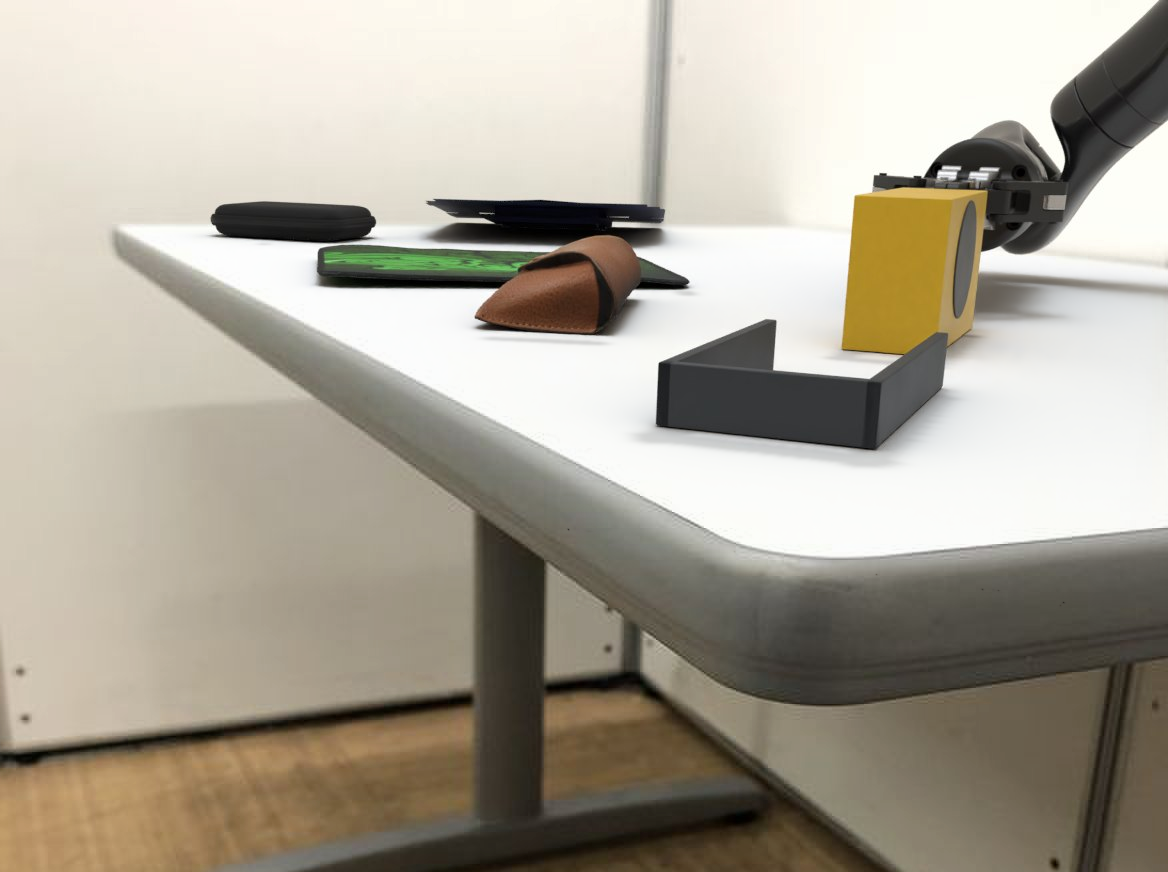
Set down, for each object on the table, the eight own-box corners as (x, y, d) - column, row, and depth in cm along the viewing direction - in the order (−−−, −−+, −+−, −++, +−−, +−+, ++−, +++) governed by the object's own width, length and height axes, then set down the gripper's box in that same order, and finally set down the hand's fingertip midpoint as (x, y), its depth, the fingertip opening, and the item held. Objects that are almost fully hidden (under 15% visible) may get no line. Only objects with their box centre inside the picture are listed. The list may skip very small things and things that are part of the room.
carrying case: (389, 236, 141) (263, 229, 146) (388, 205, 140) (261, 199, 145) (335, 243, 132) (202, 236, 137) (334, 210, 131) (200, 203, 136)
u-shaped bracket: (761, 370, 69) (765, 318, 68) (942, 386, 65) (948, 332, 65) (655, 425, 55) (657, 362, 55) (875, 449, 52) (881, 382, 51)
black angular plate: (412, 227, 135) (412, 188, 134) (453, 242, 164) (454, 209, 164) (665, 234, 134) (667, 195, 133) (662, 247, 163) (663, 215, 163)
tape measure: (888, 321, 87) (900, 187, 85) (974, 328, 85) (989, 190, 83) (839, 349, 76) (852, 195, 73) (937, 357, 74) (953, 199, 71)
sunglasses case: (516, 285, 97) (568, 200, 94) (602, 341, 97) (655, 258, 95) (468, 319, 80) (529, 217, 77) (573, 388, 80) (636, 287, 78)
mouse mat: (635, 258, 123) (635, 246, 122) (698, 287, 102) (699, 272, 102) (317, 255, 118) (316, 243, 118) (317, 285, 98) (316, 270, 97)
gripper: (1076, 254, 98) (1051, 274, 83) (885, 243, 103) (829, 260, 88) (1091, 140, 95) (1069, 139, 80) (896, 135, 100) (840, 133, 85)
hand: (944, 202), depth 84 cm, fingers closed
